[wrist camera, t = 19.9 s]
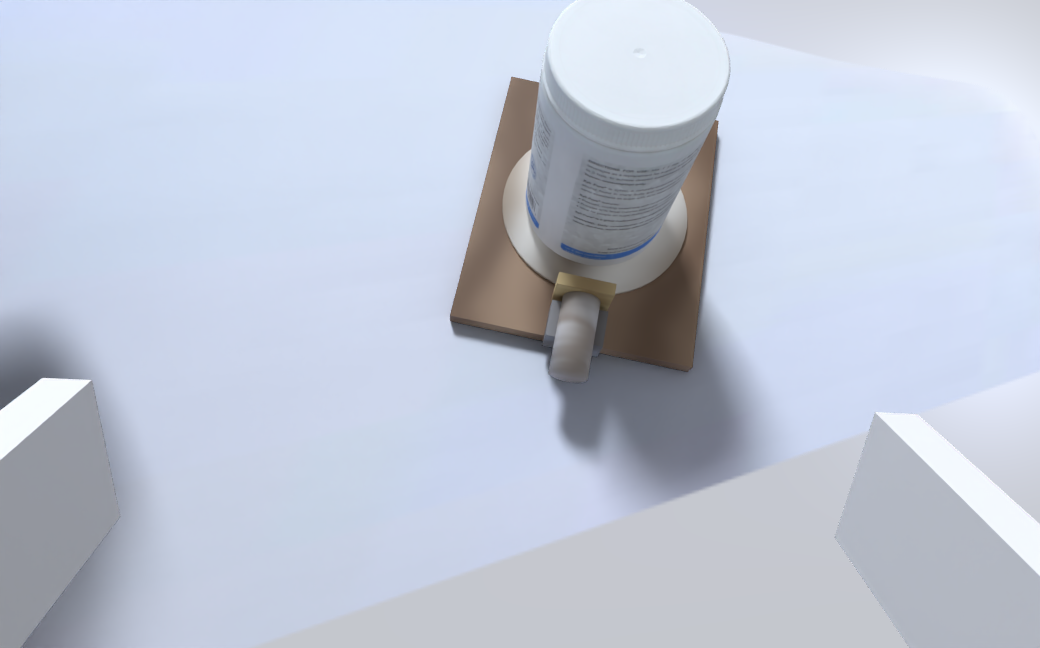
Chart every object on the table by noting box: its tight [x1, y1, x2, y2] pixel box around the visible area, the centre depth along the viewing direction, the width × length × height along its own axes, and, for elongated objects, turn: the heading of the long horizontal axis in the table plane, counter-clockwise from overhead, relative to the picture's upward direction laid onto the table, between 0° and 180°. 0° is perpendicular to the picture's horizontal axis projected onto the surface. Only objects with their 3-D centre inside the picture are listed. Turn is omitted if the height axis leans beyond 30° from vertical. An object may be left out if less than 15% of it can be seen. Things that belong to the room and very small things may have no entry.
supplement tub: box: [525, 0, 730, 266], centre depth 40 cm, size 10×10×15 cm
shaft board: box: [450, 77, 718, 383], centre depth 46 cm, size 16×26×5 cm, turn 169°
